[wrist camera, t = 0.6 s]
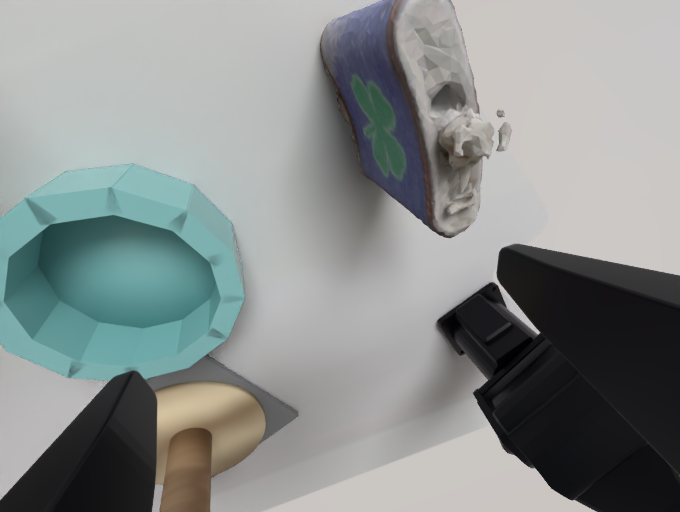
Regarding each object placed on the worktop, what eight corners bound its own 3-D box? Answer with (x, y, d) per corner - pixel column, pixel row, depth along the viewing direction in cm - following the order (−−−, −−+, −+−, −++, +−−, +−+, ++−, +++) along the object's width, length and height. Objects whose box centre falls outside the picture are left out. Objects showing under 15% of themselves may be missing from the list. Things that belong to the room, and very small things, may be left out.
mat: (297, 412, 31) (298, 415, 30) (192, 487, 31) (192, 491, 31) (192, 346, 23) (191, 350, 23) (57, 446, 24) (55, 451, 24)
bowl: (274, 263, 22) (282, 298, 19) (148, 358, 23) (136, 407, 19) (129, 119, 16) (104, 133, 12) (-40, 256, 16) (-106, 303, 13)
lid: (291, 416, 30) (306, 496, 25) (192, 487, 31) (185, 580, 25) (192, 357, 23) (182, 448, 18) (67, 449, 24) (20, 565, 18)
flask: (310, 30, 16) (414, -15, 7) (361, 6, 16) (522, -65, 8) (365, 188, 22) (465, 271, 13) (403, 169, 22) (528, 237, 13)
